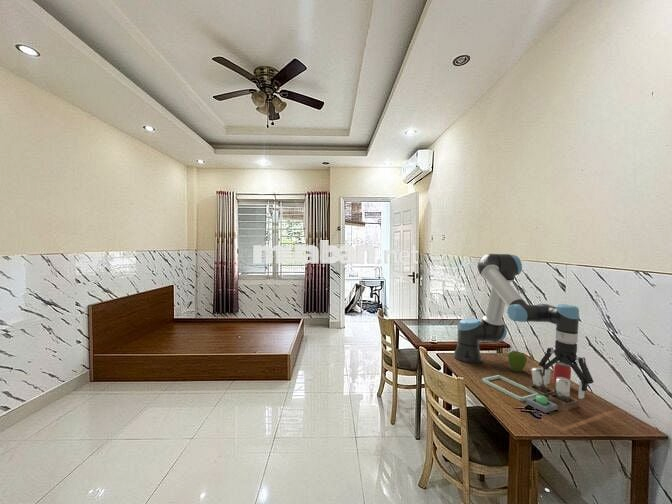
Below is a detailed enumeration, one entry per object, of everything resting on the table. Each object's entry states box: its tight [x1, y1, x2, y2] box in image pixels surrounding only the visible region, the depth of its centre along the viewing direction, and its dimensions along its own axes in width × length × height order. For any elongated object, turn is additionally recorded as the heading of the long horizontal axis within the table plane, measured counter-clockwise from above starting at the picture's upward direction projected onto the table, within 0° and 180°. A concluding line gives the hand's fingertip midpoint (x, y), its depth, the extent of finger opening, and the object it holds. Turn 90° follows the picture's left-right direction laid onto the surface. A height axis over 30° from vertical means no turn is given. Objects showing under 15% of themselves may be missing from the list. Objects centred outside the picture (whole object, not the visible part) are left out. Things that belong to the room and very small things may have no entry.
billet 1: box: [530, 367, 548, 393], centre depth 142 cm, size 5×5×10 cm
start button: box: [536, 395, 548, 406], centre depth 129 cm, size 4×4×3 cm
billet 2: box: [554, 377, 571, 403], centre depth 133 cm, size 5×5×10 cm
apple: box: [507, 350, 528, 373], centre depth 168 cm, size 9×8×12 cm
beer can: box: [552, 361, 572, 386], centre depth 150 cm, size 7×7×12 cm
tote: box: [480, 374, 540, 402], centre depth 145 cm, size 21×13×2 cm, turn 25°
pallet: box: [524, 384, 582, 411], centre depth 137 cm, size 18×10×3 cm, turn 25°
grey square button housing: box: [525, 396, 559, 414], centre depth 129 cm, size 8×8×3 cm
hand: (563, 390), depth 133 cm, fingers open, 13 cm apart
